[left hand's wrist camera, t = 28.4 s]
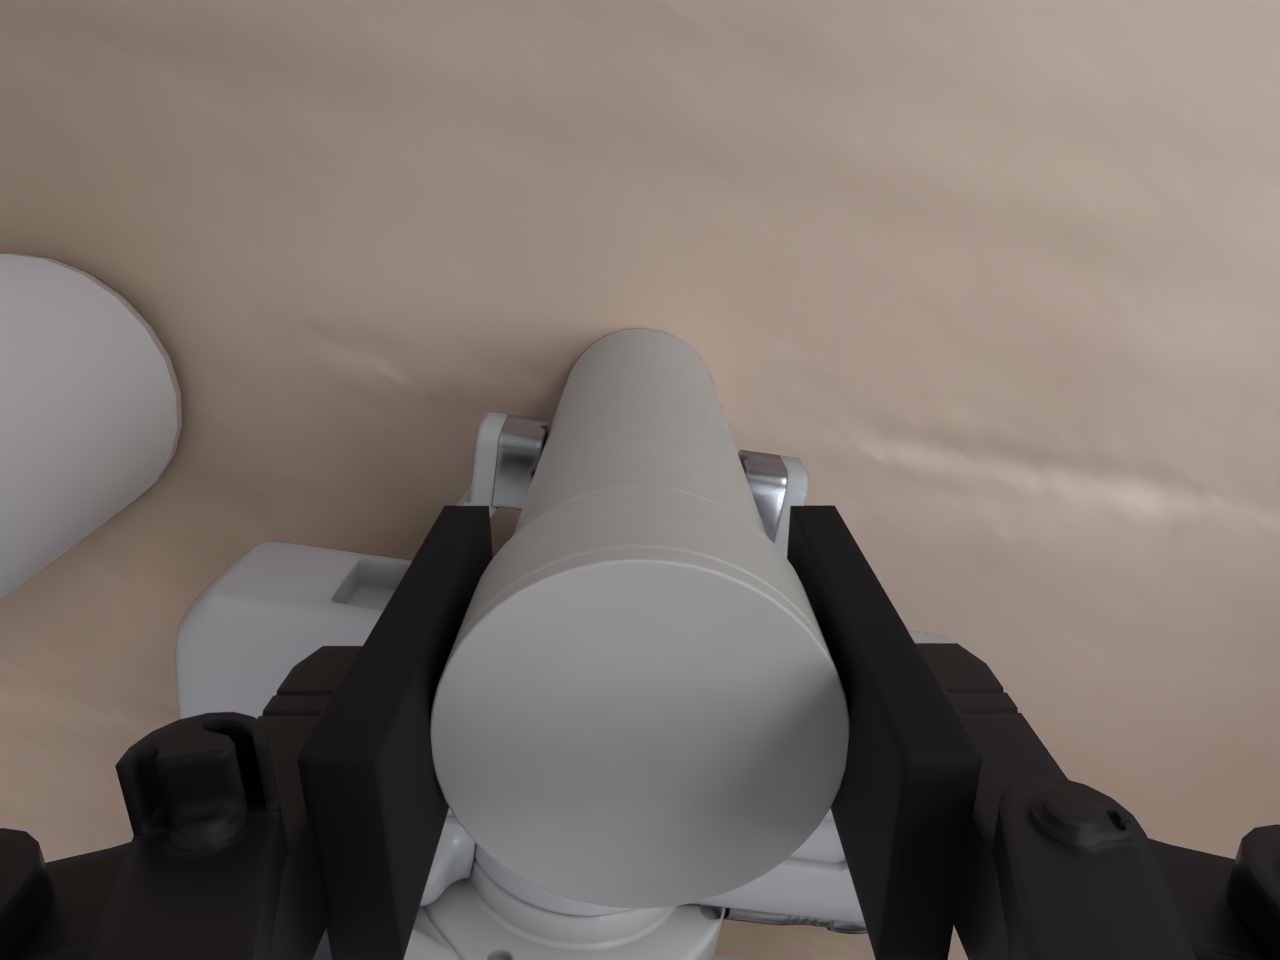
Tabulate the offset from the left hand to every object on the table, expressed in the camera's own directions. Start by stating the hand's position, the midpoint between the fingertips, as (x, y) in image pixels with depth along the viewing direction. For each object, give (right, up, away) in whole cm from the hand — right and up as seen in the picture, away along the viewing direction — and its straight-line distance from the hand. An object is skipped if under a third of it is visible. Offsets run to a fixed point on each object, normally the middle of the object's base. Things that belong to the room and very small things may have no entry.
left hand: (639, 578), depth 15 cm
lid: (0, -2, -4) cm, 4 cm away
